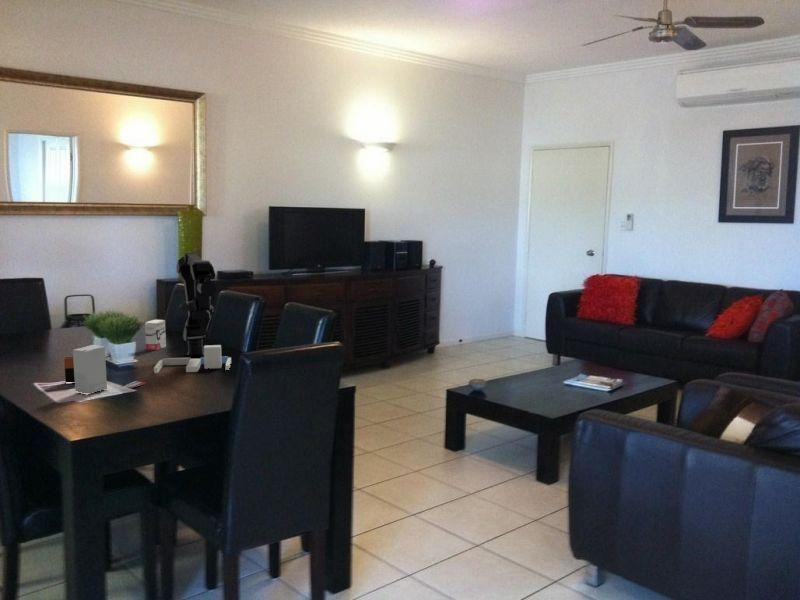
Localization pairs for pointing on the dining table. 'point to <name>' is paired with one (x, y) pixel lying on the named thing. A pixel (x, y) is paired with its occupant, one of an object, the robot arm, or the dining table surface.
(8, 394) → the dining table surface
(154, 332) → the ink box
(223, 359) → the duct rack
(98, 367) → the skincare box
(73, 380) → the battery
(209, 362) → the plug block
